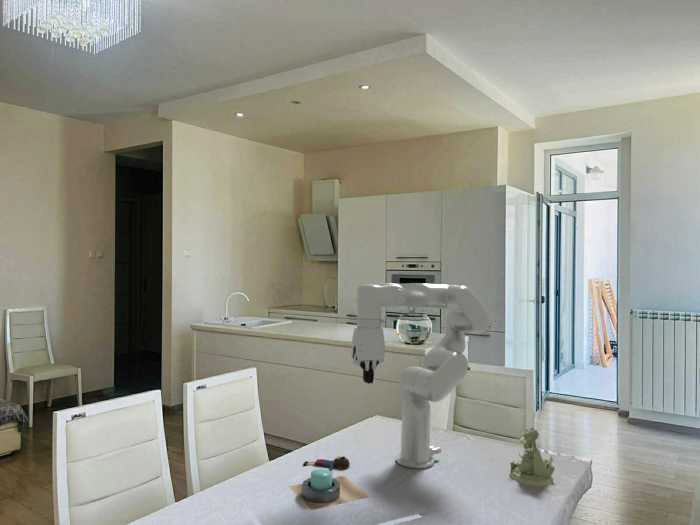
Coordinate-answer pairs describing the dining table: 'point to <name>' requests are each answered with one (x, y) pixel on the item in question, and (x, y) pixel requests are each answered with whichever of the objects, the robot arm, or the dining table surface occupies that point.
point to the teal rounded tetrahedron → (321, 479)
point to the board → (346, 493)
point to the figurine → (532, 463)
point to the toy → (330, 463)
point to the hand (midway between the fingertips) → (368, 382)
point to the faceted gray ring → (320, 492)
